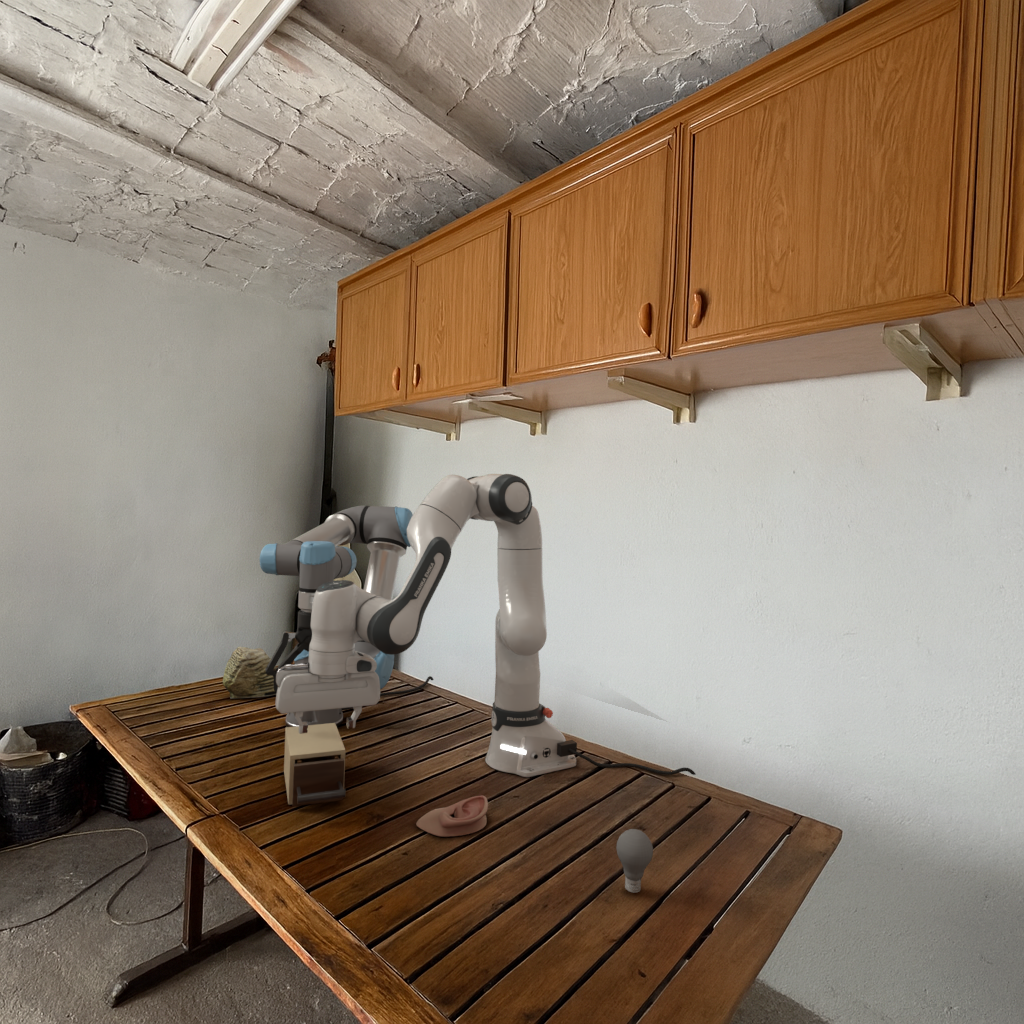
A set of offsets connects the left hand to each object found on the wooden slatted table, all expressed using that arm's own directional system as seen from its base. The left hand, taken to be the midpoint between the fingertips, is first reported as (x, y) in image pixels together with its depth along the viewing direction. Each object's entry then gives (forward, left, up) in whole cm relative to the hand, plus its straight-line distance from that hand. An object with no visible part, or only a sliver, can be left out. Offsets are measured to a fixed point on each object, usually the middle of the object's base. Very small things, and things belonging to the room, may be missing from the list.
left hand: (312, 702), depth 144 cm
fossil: (-20, -60, -16) cm, 66 cm away
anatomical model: (-7, +39, -16) cm, 43 cm away
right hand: (+8, +17, 0) cm, 18 cm away
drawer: (+5, +11, -15) cm, 19 cm away
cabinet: (+2, +5, -16) cm, 17 cm away
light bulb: (-11, +76, -16) cm, 79 cm away
